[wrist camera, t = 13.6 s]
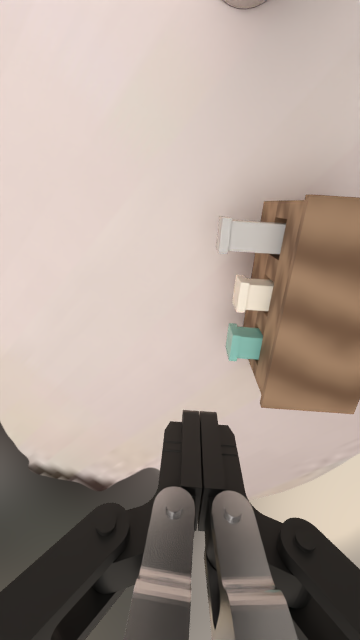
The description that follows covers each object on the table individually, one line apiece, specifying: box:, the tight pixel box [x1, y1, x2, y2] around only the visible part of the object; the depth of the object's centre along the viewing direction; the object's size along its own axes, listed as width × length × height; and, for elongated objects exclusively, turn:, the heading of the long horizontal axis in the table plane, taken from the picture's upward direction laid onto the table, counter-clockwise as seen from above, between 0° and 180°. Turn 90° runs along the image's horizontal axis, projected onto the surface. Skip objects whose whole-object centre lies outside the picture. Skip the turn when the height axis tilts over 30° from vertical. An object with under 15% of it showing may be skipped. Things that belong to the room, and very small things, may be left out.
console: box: [243, 195, 360, 414], centre depth 35 cm, size 23×11×17 cm, turn 177°
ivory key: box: [232, 275, 274, 313], centre depth 35 cm, size 4×9×4 cm, turn 87°
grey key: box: [216, 216, 286, 254], centre depth 32 cm, size 4×9×4 cm, turn 87°
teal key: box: [226, 323, 263, 361], centre depth 37 cm, size 4×9×4 cm, turn 87°
